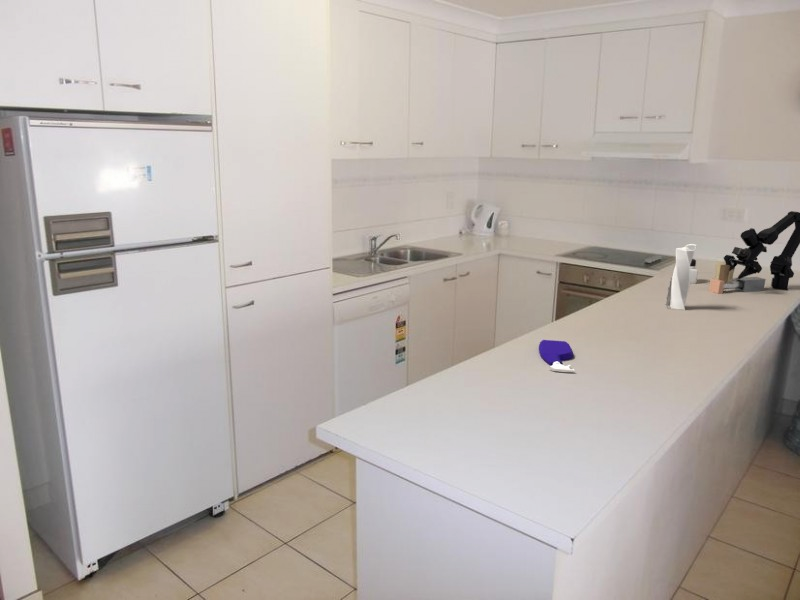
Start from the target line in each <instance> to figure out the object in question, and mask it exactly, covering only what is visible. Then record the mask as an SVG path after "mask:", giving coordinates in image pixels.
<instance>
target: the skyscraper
mask: <svg viewBox="0 0 800 600" xmlns="http://www.w3.org/2000/svg"><path fill="white" fill-rule="evenodd" d="M689 246H695V247H694V249H690V247H689ZM697 246H698V245H697V244H694V243H690V244H689V243H688V244H686V245H685V246H684V247H683V246H682V247H677V248H675V266H674V270H673V272H672V277H670V281H669V286H668V289H667V295H666V301H665V308H666V309H667V310H676V309H678V311H686V307H685V304H686V301H687V298H688V295H689V291H690V285H691V283H690V279H691V271H690V264H691V261H692V259H694V258H693V257H694V256H695V255H694V254H695V251H696V248H697Z"/></svg>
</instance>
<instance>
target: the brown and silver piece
mask: <svg viewBox="0 0 800 600" xmlns="http://www.w3.org/2000/svg"><path fill="white" fill-rule="evenodd" d="M729 270H730V266H729V265H721V266H720V273H719V280H722V281H725V282H724V288H723V290H735V289H739V288H744V282H745V281H736V280H735V281H733V280H732V281H731V282H728V276H729Z"/></svg>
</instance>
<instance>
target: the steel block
mask: <svg viewBox="0 0 800 600" xmlns="http://www.w3.org/2000/svg"><path fill="white" fill-rule="evenodd" d="M735 281H745V282H744V288H739V289H734V290H735V291H739V292H743V293H752V292H764V290H765V285H766V278H762V277H758V276H746V277H743V278H741V279H738V277H736V280H735Z"/></svg>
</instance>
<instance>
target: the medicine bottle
mask: <svg viewBox="0 0 800 600" xmlns="http://www.w3.org/2000/svg"><path fill="white" fill-rule="evenodd" d="M696 265H697V260H696V259H695V258H692V261H691V264H690V271H691V279H690V285H691V284H692V285H693V284H697V281H698V273H699V269H697V268H696Z"/></svg>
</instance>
